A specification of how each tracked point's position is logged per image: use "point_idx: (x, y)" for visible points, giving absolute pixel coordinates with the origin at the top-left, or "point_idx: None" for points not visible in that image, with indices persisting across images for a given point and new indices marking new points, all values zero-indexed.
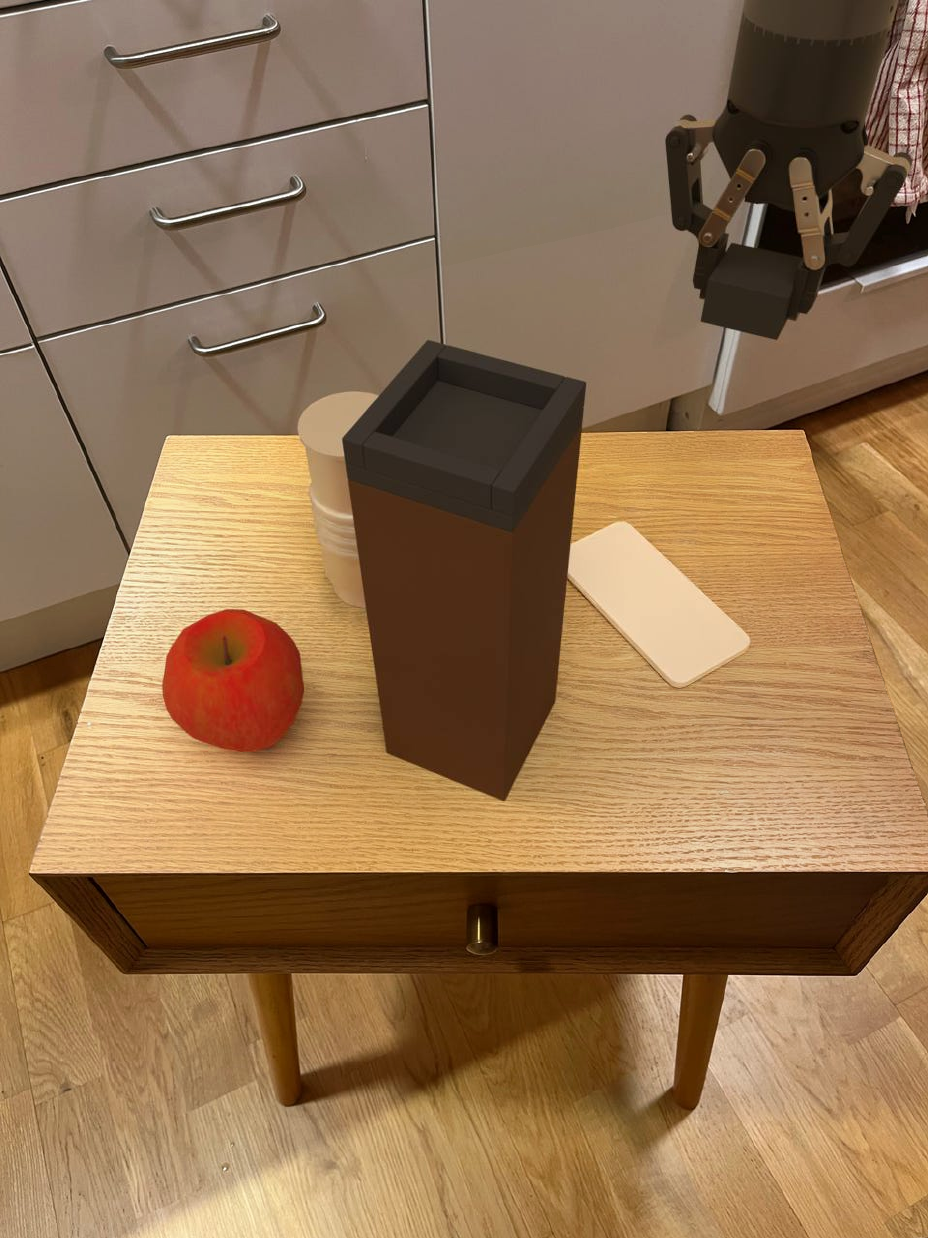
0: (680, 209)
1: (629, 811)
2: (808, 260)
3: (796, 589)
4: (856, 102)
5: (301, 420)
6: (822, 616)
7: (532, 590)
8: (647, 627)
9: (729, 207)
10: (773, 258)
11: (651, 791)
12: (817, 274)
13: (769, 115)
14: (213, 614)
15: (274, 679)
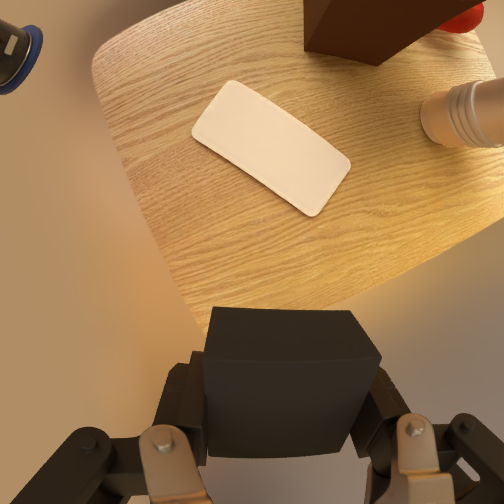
0: (480, 439)
1: (236, 6)
2: (177, 440)
3: (173, 204)
4: None
5: None
6: (151, 186)
7: None
8: (265, 116)
9: (425, 493)
10: (265, 446)
11: (227, 18)
12: (160, 419)
13: None
14: (482, 12)
15: None
